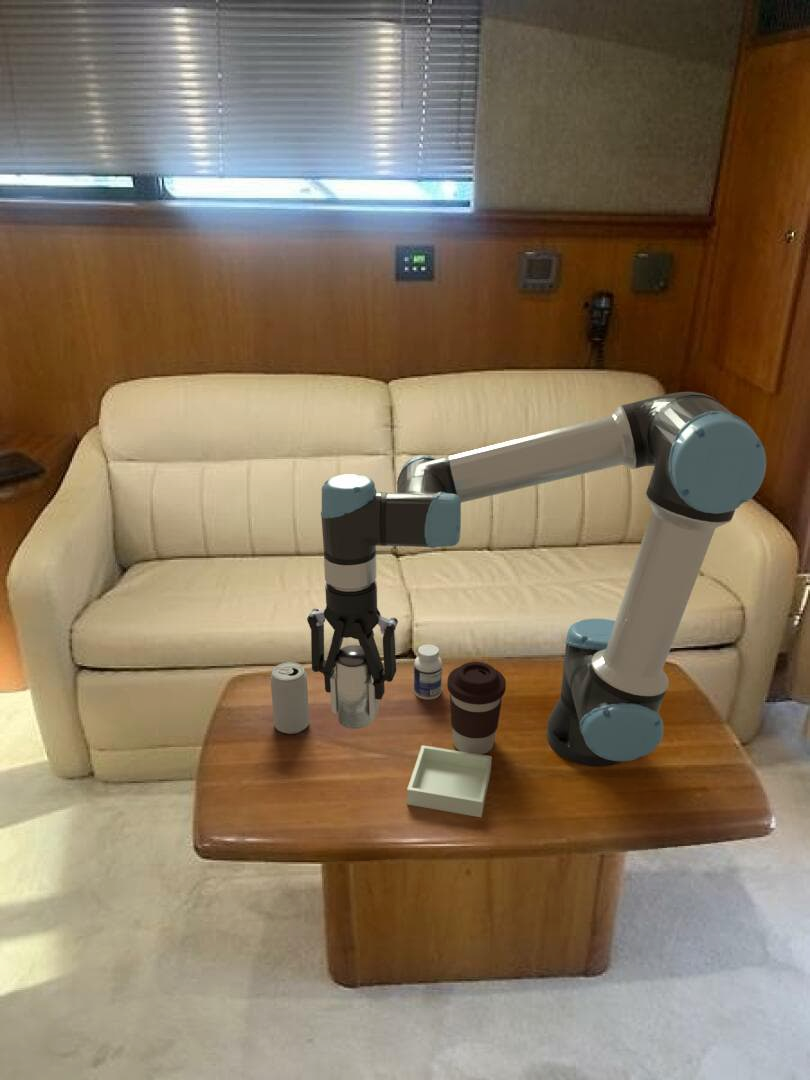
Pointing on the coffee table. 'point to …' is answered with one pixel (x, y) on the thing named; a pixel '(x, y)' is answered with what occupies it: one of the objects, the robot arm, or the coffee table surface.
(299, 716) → the beverage can
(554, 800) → the coffee table surface
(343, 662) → the shaker
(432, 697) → the pill bottle
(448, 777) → the tray
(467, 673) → the coffee cup
